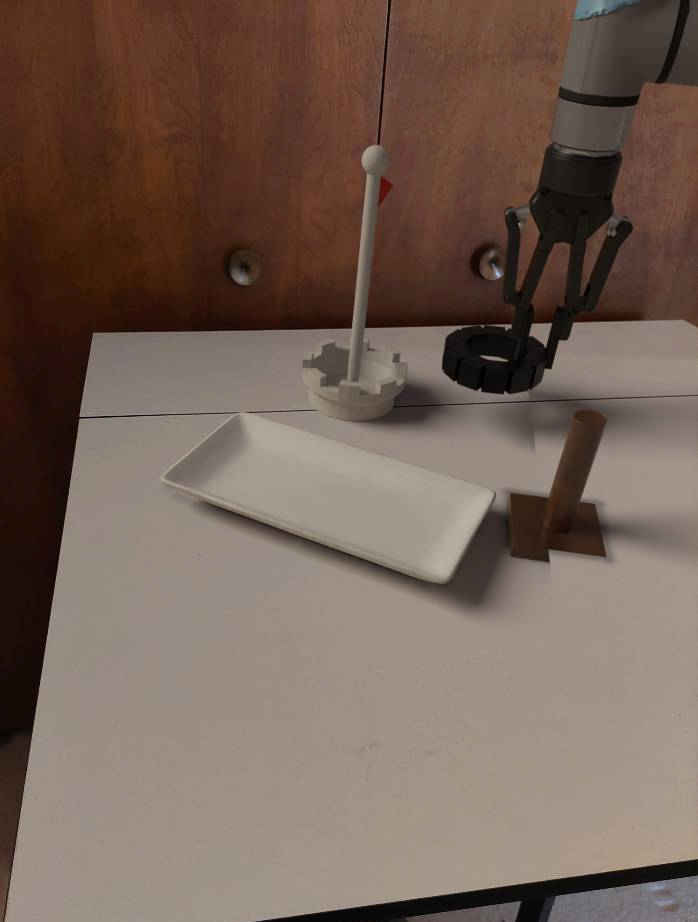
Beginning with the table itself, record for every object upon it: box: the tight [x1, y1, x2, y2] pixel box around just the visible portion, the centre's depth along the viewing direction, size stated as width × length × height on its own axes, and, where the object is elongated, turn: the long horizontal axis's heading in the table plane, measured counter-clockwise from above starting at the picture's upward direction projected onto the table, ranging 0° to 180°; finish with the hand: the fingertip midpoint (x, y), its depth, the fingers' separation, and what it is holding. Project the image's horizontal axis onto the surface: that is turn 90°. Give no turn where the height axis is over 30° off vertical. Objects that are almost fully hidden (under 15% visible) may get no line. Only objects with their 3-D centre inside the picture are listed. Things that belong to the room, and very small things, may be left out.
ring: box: [441, 324, 548, 396], centre depth 95 cm, size 12×12×3 cm
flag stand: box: [301, 144, 409, 422], centre depth 93 cm, size 13×13×30 cm
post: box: [506, 409, 608, 562], centre depth 78 cm, size 9×9×14 cm
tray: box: [159, 411, 497, 585], centre depth 83 cm, size 17×32×4 cm, turn 63°
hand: (532, 361), depth 95 cm, fingers closed on ring, 3 cm apart
